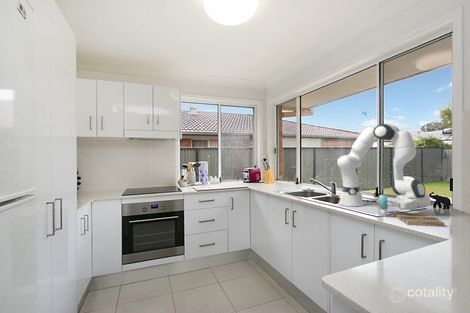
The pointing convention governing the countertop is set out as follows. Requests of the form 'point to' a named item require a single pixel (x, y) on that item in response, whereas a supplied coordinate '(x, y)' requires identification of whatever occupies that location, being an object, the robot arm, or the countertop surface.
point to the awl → (383, 205)
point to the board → (418, 219)
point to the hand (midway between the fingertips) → (383, 203)
